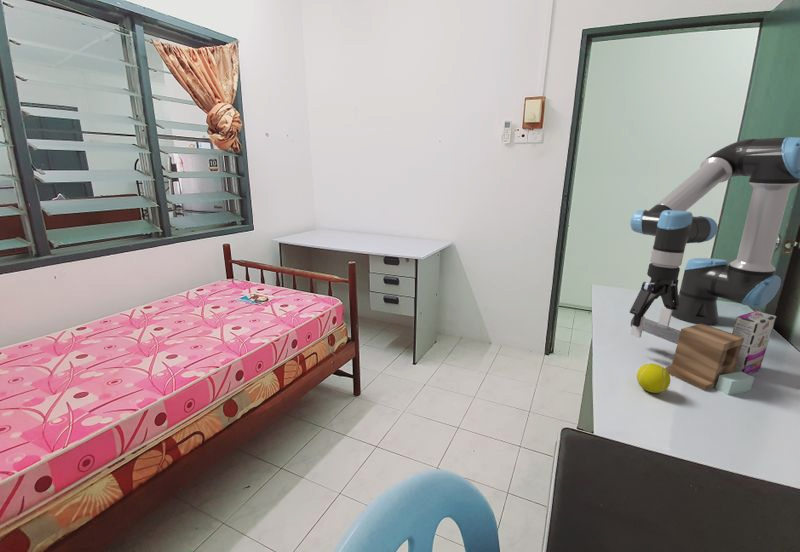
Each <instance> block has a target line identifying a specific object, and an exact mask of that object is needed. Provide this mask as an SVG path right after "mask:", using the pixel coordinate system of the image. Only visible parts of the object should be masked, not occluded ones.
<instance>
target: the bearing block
mask: <svg viewBox="0 0 800 552" xmlns="http://www.w3.org/2000/svg"><path fill="white" fill-rule="evenodd" d="M680 331H681V332H680V336H679V340H678V343H677V344H676V348H675V352H674V355H673V359H672V363H671V365H667V366H666V367H664V368H665V369H666V370H667V371H668V373H669V375H670V376H672V377H673V378H676V379H679V380H681V381H683V382H685V383H687V384H689V385H691V386H694V387H695V388H698V389H700V390H702V391H708V390H711V389H713V388H716V385H717V382H718V378H719V375H724V374H730V373H736V372H735V371H734V369H735V366H736V363H737V360H738V357H739V353H740V350H741V347H742V344H743V341H744V337H741V336H738V335H735V334H732V333H733V332H732V333H731V332H728V331H726V330H722V329H719V328H717V327H715V326H714V327H713V326H712V325H711V326H710V325H709V324H702V323H701V324H698V323H696V324H694V325H691V326H687V327H683V328H680Z"/></svg>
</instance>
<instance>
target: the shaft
mask: <svg viewBox="0 0 800 552" xmlns="http://www.w3.org/2000/svg"><path fill="white" fill-rule="evenodd" d="M633 319H634V316H633V317H632V319H631V320H630V327H631V328H632V324H633ZM642 332H644V333H647V334H649V335H653V336H655V337H658V338H660V339H663V340H666V341H667V342H670V343H673V344H676V345H677V343H678V340H679V336H680V332H681V330H679V329H676V328H674V327H670V326H669V327H668V326H665V325H663V324H660V323H659V322H657V321H654V320H651V319H650V318H646V317H645V320H644V325H643V329H642Z"/></svg>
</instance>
